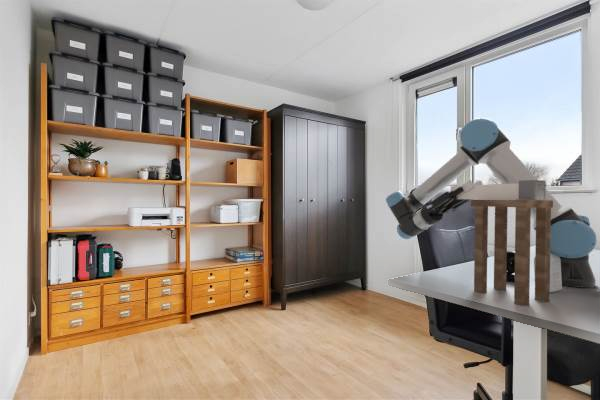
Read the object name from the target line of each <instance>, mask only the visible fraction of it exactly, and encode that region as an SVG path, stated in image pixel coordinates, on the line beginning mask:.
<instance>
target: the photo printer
mask: <svg viewBox="0 0 600 400" xmlns="http://www.w3.org/2000/svg"><path fill="white" fill-rule="evenodd" d="M533 267H534V268H533V269H534V274H535V257H534V258H533ZM562 289H563V285H562V278H561V260H560V257H559V256H558V255H556V254H555V253H553V252H551V251H550V293H555V292H559V291H562Z"/></svg>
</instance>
